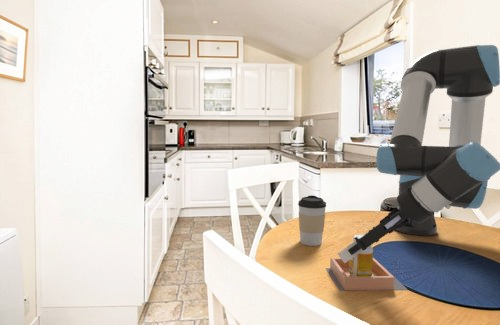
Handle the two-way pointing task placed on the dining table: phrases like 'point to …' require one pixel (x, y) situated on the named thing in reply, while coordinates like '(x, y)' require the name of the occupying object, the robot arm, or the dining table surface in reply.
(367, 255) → the supplement bottle
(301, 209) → the coffee cup
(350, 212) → the dining table surface
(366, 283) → the dish
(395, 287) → the mat
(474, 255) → the dining table surface
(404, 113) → the robot arm
